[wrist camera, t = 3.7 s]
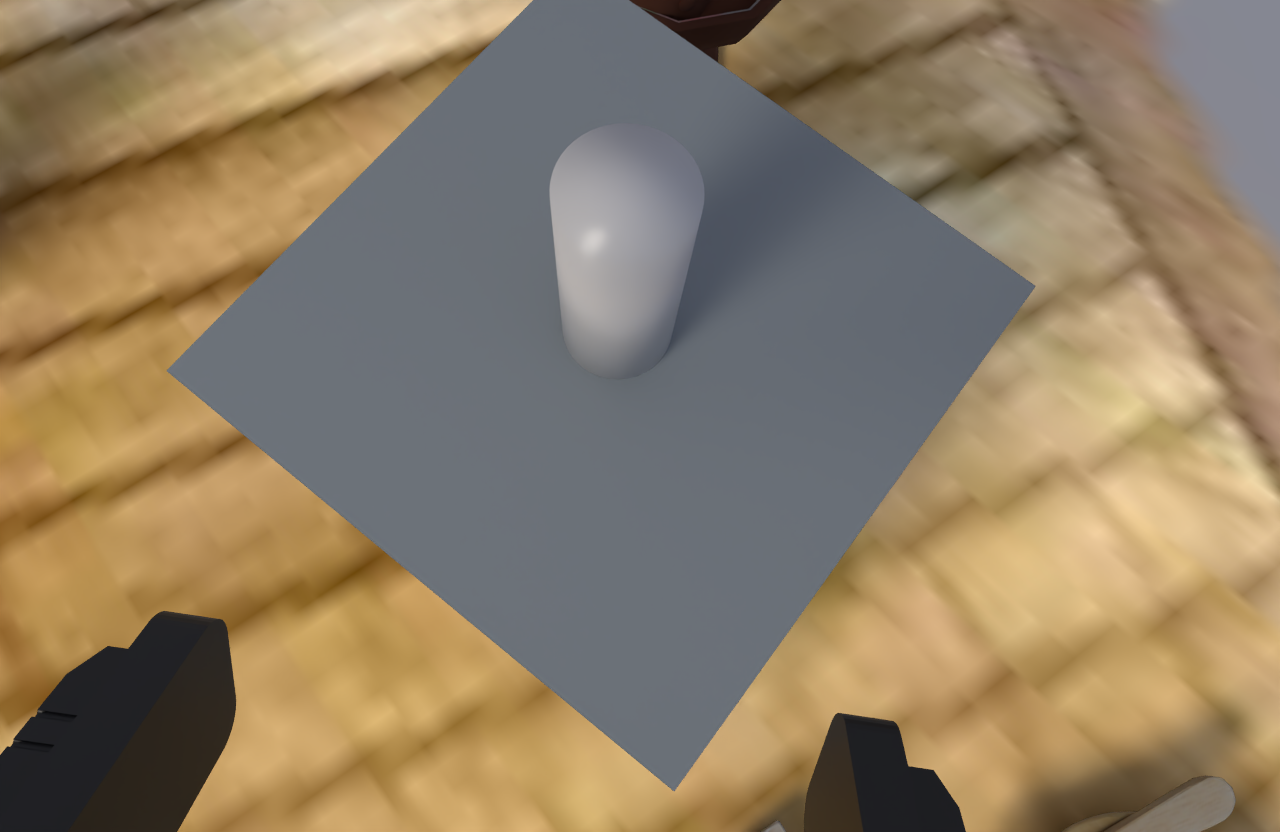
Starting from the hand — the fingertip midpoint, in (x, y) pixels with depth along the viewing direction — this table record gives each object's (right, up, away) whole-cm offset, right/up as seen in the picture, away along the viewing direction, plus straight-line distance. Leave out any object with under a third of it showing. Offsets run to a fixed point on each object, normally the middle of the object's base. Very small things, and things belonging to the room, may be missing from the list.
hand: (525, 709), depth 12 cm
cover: (0, +2, +31) cm, 31 cm away
